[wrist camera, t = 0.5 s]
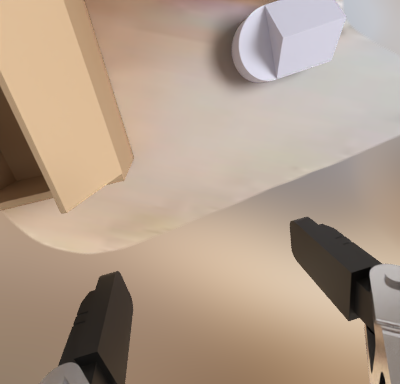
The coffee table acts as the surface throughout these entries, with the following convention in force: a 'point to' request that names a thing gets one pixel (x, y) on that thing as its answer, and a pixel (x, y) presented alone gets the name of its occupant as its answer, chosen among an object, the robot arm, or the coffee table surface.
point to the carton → (17, 145)
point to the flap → (54, 100)
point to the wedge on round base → (286, 38)
